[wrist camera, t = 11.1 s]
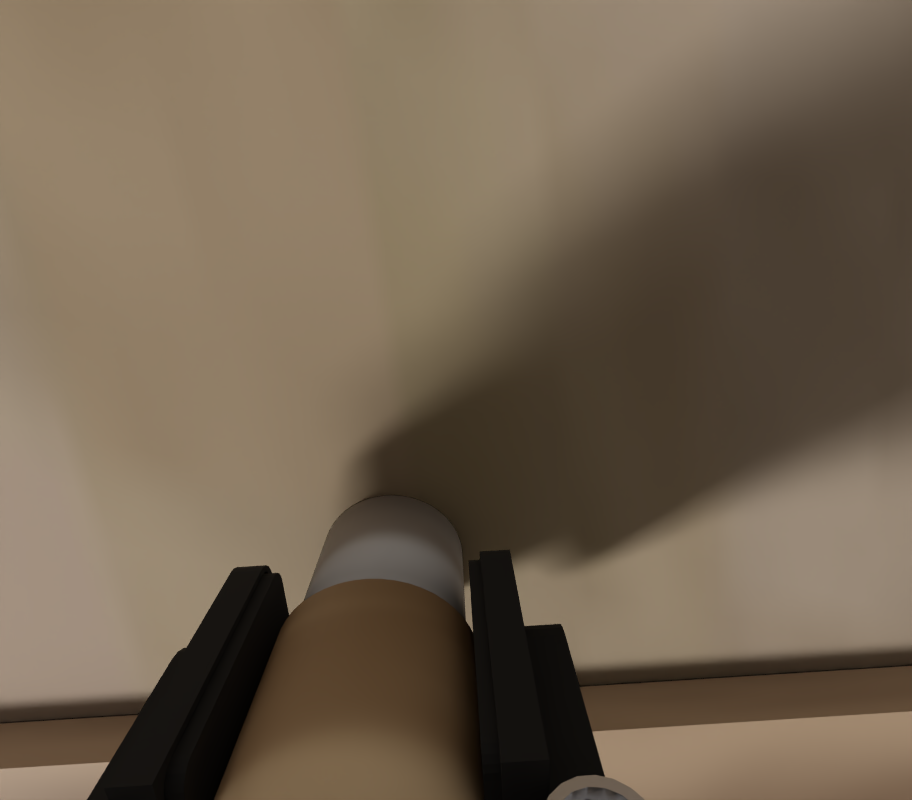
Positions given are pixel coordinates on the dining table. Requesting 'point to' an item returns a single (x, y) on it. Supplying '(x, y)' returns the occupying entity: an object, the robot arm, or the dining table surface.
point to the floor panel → (627, 740)
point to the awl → (369, 672)
